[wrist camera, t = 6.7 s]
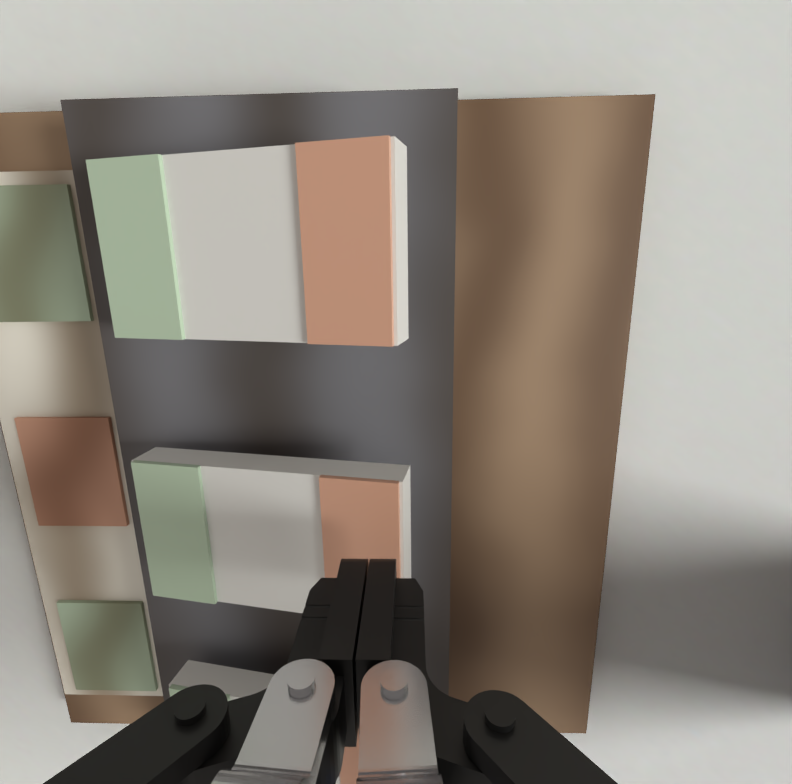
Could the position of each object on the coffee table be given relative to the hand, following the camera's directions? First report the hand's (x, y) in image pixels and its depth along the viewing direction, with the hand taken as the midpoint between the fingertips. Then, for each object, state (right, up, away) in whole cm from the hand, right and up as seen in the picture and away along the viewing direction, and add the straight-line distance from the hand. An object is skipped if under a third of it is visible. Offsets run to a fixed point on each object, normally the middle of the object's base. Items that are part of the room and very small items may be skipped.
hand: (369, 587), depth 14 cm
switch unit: (-3, +2, +9) cm, 10 cm away
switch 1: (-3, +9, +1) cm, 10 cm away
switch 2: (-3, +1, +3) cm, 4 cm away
